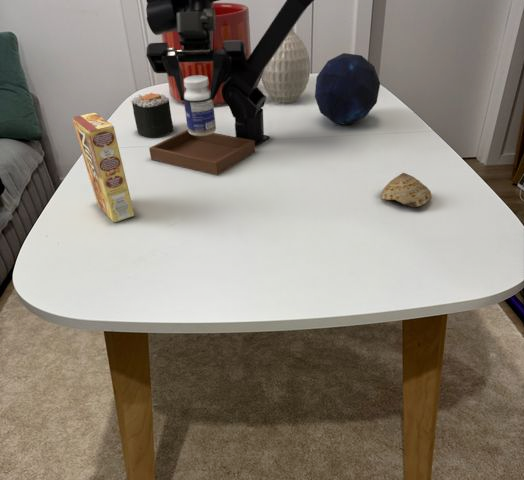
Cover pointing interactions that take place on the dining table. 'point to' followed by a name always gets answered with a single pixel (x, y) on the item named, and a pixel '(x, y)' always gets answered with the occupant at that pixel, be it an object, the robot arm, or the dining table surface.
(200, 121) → the pill bottle
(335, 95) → the decorative orb
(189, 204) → the dining table surface
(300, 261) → the dining table surface
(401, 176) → the seashell
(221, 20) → the planter
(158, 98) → the sushi
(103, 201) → the candy box
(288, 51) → the vase
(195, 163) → the tray
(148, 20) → the robot arm
